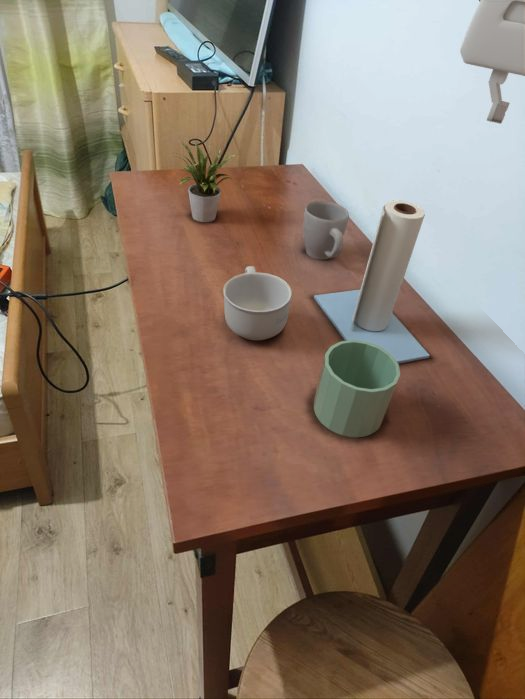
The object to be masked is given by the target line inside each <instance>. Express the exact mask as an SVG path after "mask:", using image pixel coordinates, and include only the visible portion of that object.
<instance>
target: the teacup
mask: <svg viewBox="0 0 525 699" xmlns="http://www.w3.org/2000/svg"><path fill="white" fill-rule="evenodd" d="M222 292H223V307H224V308H223V309H224V319H225V322H226V324H227V326H228V328H229V329H230V330H231V331H232V332H233V333H234V334H235V335H237V336H239V337H241V338H243V339H246V340H248V341H249V340H250V341H264V340H267V339H270V338H274V337H275V336H277V335H278V334H280V332H282V331H283V330H284V328H285V327H286V324H287V322H288V318H289V314H290V306H291V300H292V296H293V291H292V288H291V286H290V285H289V283H287V282H286V280H284V279H283V278H281V277H279V276H278V275H274V274H272V273H267V272H257V269H256V267H255V266H253V265H249V266H246V267H245V270H244V273H241V274H237V275H235V276H233V277H231V278H230V279H228V280H227V281H226V283H224V286H223V290H222Z"/></svg>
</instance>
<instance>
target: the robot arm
mask: <svg viewBox="0 0 525 699" xmlns="http://www.w3.org/2000/svg"><path fill="white" fill-rule="evenodd" d="M478 1H479V3H478V5H477V6H476V7H477V8H476V9H475V11H474V13H473V16H472V18H471V20H470V23H469V25H468V27H467V30H466V32H465V34H464V35H465V36H464V38H463V41H462V43H461V47H460V51H459V53H460V55H461V58H462V61H463V63H465V64H466V65H471V66H476V67H480V68H484V69H488V70H489V69H490V70H492V71H491V74H490V76H489V80H488V87H489V93H490V100H491V104H492V105H491V106H490V109H489V112H488V114H487V117H486V121H487V122H491V123H495V124H502V123H503V121H504V120H505V116H506V112H507V111H508V109H509V106H510V102H508V101H504V100H503V98H502V91H501V90H502V88H501V85H503V84H504V83H505V82H507V79H508V76H509V74H513V75H516V76H517V75H518V76H522V77H525V0H478Z"/></svg>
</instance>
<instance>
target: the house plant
mask: <svg viewBox="0 0 525 699" xmlns="http://www.w3.org/2000/svg"><path fill="white" fill-rule="evenodd" d="M176 141H178V142H179V143H181V145H183V146H184V148H185V149H186V151H187V153H188V155H189V157H190V159H191V160H190V159H189V158H188V157H186V156H185V155H184V154H181V153H178V152H171V155H172V154H175V155H173V156H172V157H173V158H174V157H175V158H180V159H181V157H180V155H181V156H182V157H183V158H185V159H186V160H185V159H183V158H182V160H183V161H184V162H185V164H186V165H187V166H185V167H183V170H185V171H186V172H187V173H189V174H190V175H191V176H192V177H190V176H185V177H184V176H183V175H182V174H180V173H177V175H178V176H181V177H182V179H181V180H180V183H179V185H182V184H183V183H186V182H189V183H190V184H191V185H190V186H189V187H188V189H187V190H188V197H189V204H190V211H191V217H192V219H193V220H194V221H197V222H200V223H210V222H213V221H215V219H216V216H217V213H218V207H219V203H220V198H221V194H222V190H221V189H220V187H218V185H219V184H220V183H222V182H223V181H225V180H228V179H231V180H233V178H232V177H231V176H230V175H229V174H226V173H218V171H219V170H220V169H221V168H222V167H223V166H224V165H225V164H226V163H227V162H228V161H230V160H231V159H232V158H234V157H235V156H238V155H239V154H238V153H235V154H232V155H229V156H228V157H227V158H226V159H224V160H223V161H222V162H221V163H218V161H219V160H220V159H219V158H220V155H221V152H222V148H220V149H219V150H218V152H217V154H216V156H215V158H214V161H213V163H211V164H209V165H208V169H207V164H208V158H209V156H210V155H211V154H212V152H210V153H209V154H208V152H209V149H210V147H211V145H212V144H210V145H209V147H208V150H207V152H206V154H207V155H206V156H205V155H204V153H203V151H202V149H201V148H200V146H199V144H198V143H197V142H196V141H195V142H194V146H195V148H196V154H197V156H196V157H197V161H198V163H197V162H196V160H195V158H194V155H193V153H192V151H191V149H190V148H189V146H188V145H187V144H185V143H184V142H183V141H182V140H178V139H176ZM177 155H179V156H177ZM187 161H188V162H189V163H190V165H189V163H188V162H187ZM221 177H223V178H222V179H220V178H221ZM218 179H220V180H219V181H218V182H217V180H218ZM190 180H194V182H195V184H193V183H191V181H190ZM216 182H217V183H216Z"/></svg>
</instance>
